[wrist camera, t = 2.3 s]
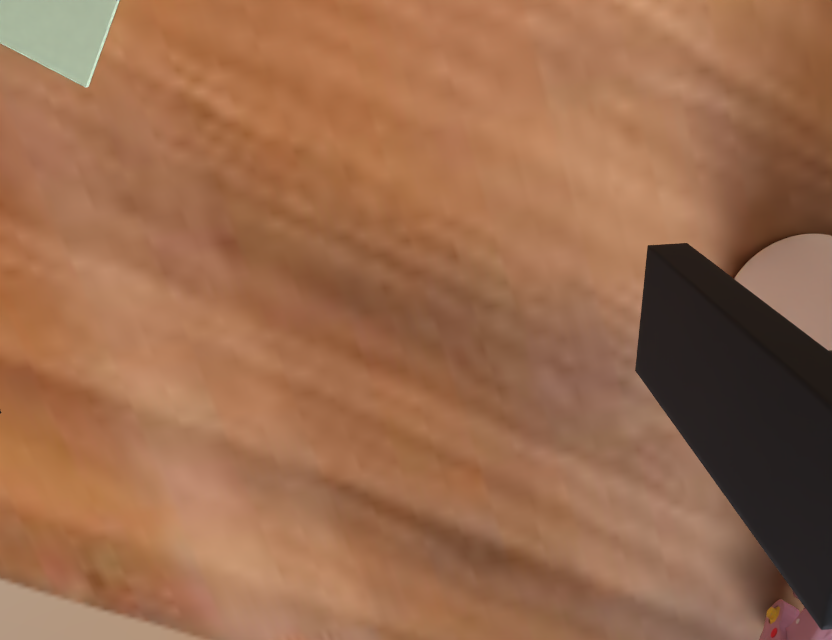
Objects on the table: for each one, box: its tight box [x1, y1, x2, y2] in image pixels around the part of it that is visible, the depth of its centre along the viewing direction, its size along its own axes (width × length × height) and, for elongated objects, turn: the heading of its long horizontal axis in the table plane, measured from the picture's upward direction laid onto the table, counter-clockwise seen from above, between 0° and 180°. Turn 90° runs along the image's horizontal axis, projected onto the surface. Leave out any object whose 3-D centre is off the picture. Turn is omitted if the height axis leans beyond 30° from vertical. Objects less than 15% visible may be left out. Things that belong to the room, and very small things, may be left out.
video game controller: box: [759, 591, 832, 640], centre depth 44 cm, size 10×5×7 cm, turn 158°
